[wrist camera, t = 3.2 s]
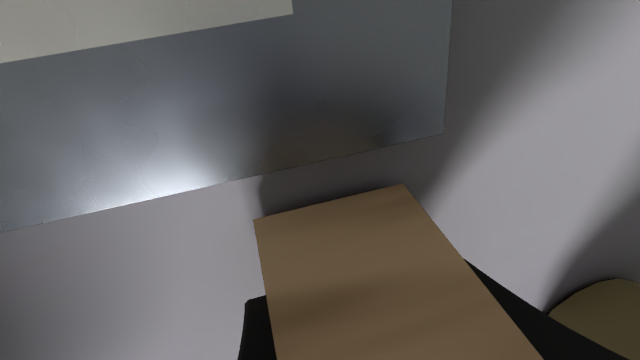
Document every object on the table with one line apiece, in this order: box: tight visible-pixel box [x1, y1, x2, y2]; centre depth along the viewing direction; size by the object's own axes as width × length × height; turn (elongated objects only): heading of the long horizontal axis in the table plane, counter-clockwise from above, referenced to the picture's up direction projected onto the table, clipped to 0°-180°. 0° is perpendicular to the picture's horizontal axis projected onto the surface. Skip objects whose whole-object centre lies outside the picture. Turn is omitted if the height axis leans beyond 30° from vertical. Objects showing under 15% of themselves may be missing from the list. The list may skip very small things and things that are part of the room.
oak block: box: [253, 183, 544, 360], centre depth 10 cm, size 4×4×6 cm
